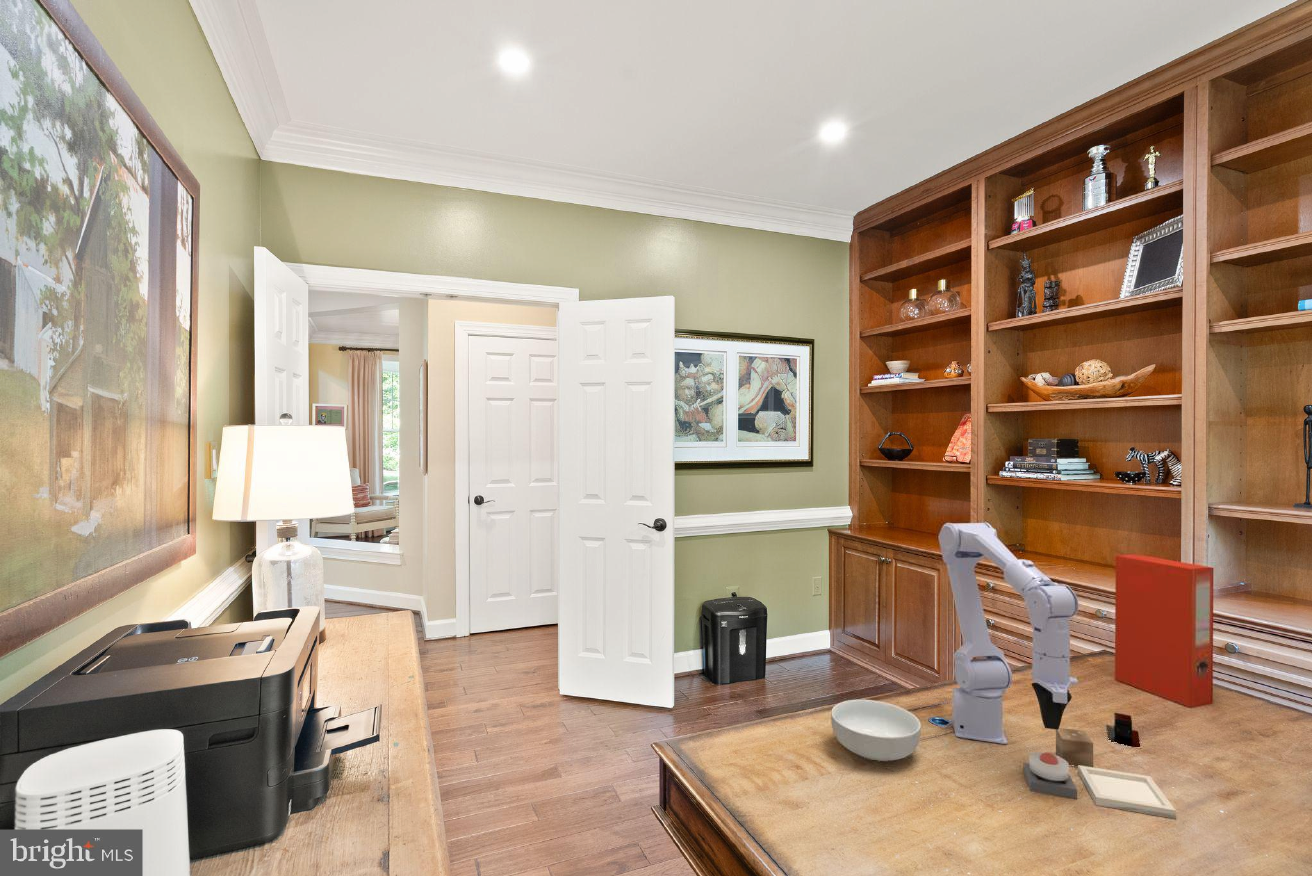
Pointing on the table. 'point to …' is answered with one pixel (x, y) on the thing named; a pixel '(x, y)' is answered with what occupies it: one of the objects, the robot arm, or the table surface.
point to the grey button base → (1049, 784)
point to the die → (1074, 747)
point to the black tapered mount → (1123, 731)
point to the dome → (1049, 766)
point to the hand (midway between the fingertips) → (1050, 727)
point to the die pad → (1126, 791)
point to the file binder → (1165, 628)
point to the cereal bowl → (876, 729)
